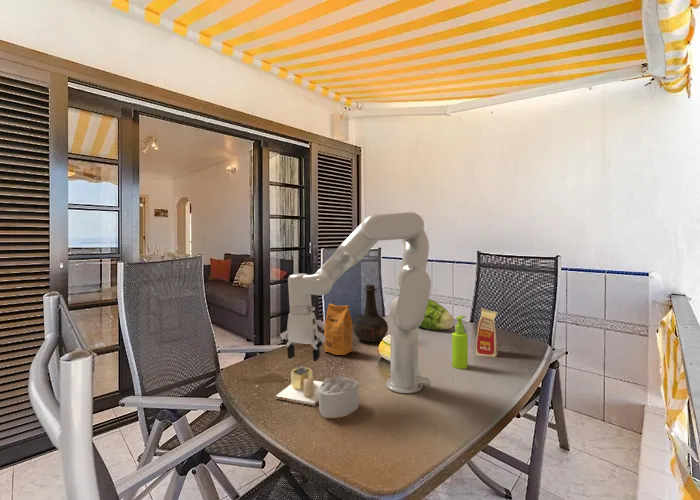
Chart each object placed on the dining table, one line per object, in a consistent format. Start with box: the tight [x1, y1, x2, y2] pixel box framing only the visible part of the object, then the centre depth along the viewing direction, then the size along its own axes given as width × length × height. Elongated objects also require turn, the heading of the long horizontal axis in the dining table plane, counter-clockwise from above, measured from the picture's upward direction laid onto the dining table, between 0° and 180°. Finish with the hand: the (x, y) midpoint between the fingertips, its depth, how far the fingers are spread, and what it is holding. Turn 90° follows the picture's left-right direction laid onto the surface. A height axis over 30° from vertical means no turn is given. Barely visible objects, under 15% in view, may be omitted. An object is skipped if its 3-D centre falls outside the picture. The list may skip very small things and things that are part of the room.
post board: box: [275, 365, 324, 404], centre depth 118 cm, size 14×15×8 cm
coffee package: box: [323, 303, 353, 356], centre depth 158 cm, size 10×12×22 cm
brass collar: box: [290, 366, 313, 390], centre depth 121 cm, size 7×7×5 cm
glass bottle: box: [352, 284, 389, 343], centre depth 177 cm, size 18×18×28 cm
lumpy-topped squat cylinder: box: [318, 375, 360, 417], centre depth 107 cm, size 10×13×9 cm
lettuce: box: [419, 298, 455, 331], centre depth 196 cm, size 17×23×16 cm
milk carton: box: [475, 307, 499, 358], centre depth 155 cm, size 9×9×20 cm
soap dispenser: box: [451, 315, 469, 370], centre depth 140 cm, size 6×7×20 cm
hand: (303, 358), depth 121 cm, fingers open, 9 cm apart
